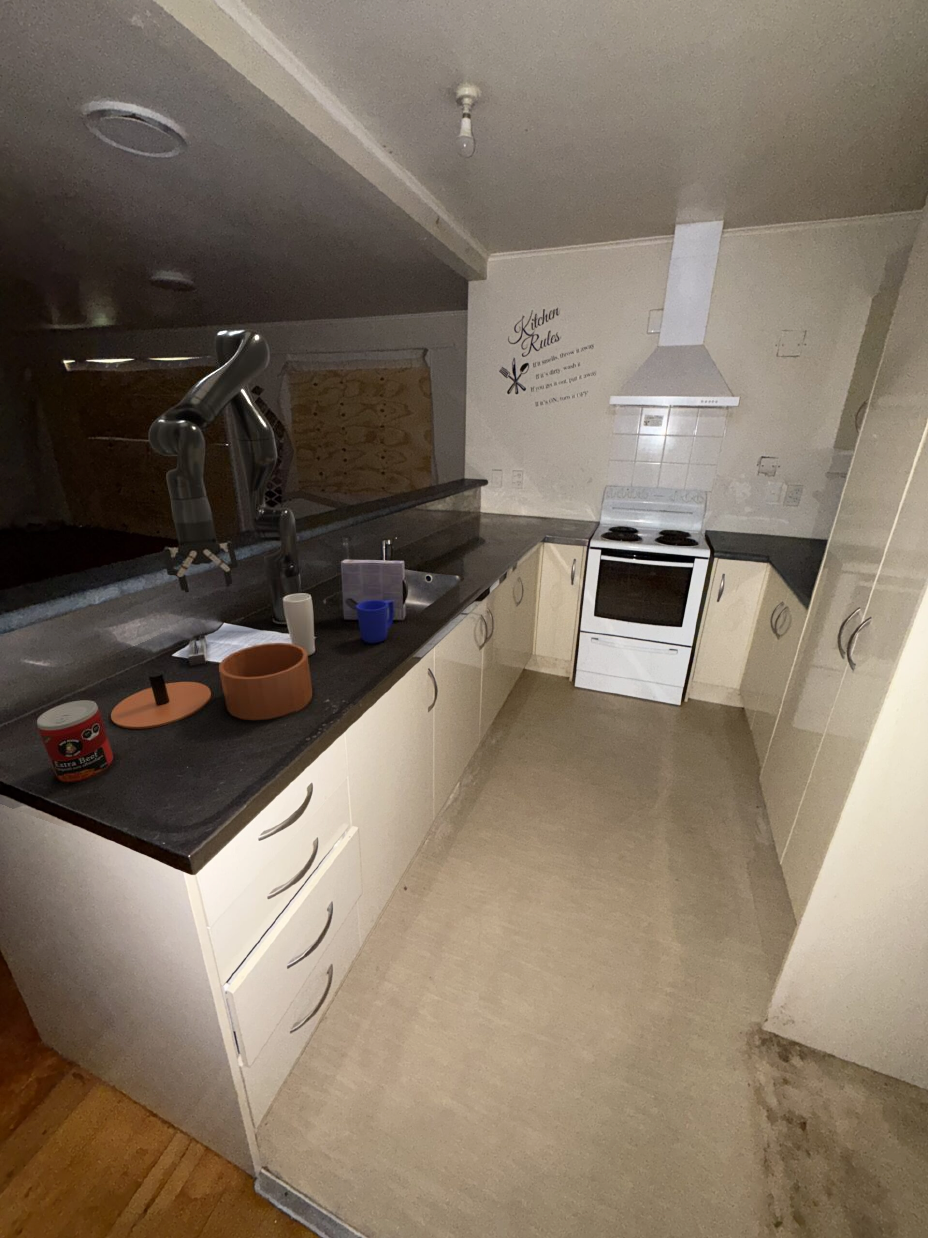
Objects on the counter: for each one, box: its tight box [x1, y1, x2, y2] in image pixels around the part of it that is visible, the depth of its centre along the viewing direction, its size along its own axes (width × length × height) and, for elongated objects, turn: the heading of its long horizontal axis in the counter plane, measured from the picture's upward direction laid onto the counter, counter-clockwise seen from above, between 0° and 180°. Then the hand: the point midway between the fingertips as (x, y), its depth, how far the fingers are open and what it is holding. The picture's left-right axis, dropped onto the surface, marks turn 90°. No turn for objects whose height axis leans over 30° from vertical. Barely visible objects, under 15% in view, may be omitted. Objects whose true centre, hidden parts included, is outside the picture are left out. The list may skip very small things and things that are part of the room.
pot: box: [218, 642, 313, 721], centre depth 100 cm, size 17×17×10 cm
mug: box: [356, 600, 394, 644], centre depth 131 cm, size 8×12×10 cm
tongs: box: [187, 634, 208, 667], centre depth 121 cm, size 13×4×3 cm, turn 26°
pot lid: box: [110, 671, 212, 730], centre depth 98 cm, size 18×18×8 cm
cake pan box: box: [340, 559, 409, 621], centre depth 143 cm, size 19×5×18 cm, turn 89°
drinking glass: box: [283, 592, 316, 657], centre depth 120 cm, size 7×7×15 cm
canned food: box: [36, 699, 114, 783], centre depth 79 cm, size 8×8×11 cm
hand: (207, 588), depth 112 cm, fingers open, 8 cm apart
